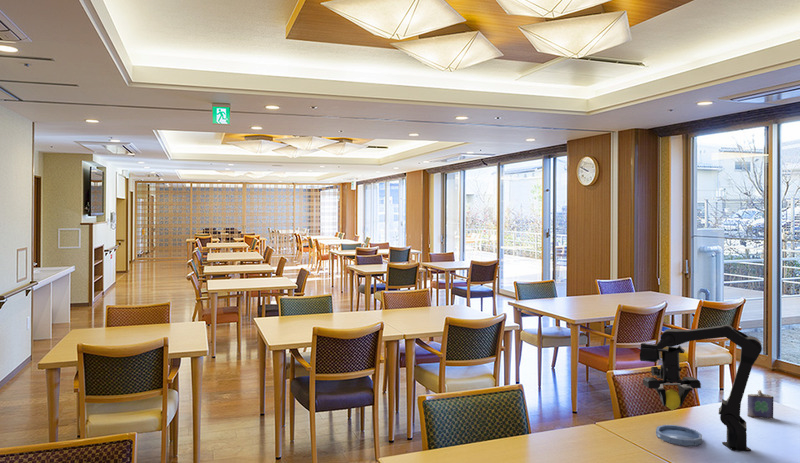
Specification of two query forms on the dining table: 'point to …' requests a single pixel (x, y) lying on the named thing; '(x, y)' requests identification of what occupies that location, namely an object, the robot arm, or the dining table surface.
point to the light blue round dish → (679, 435)
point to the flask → (760, 405)
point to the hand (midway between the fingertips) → (672, 406)
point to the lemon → (672, 399)
